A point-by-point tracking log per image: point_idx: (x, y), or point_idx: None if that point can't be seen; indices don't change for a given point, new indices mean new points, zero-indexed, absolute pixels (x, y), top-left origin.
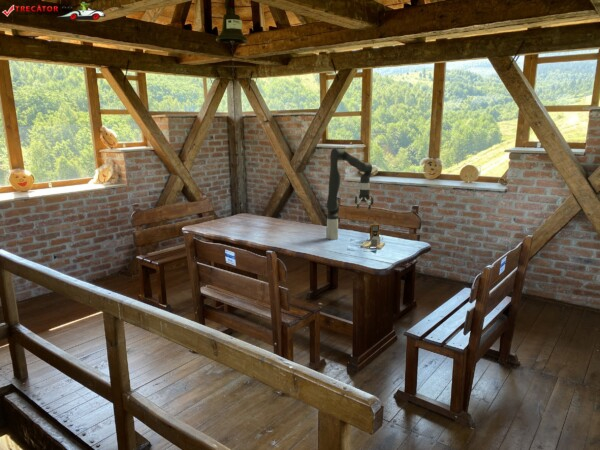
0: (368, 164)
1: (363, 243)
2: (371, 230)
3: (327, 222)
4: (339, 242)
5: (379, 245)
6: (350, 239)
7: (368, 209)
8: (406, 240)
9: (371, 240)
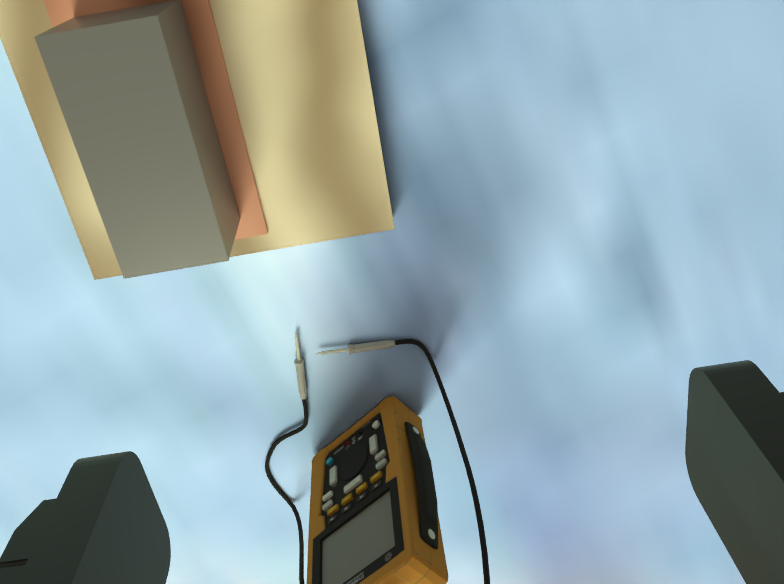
0: None
1: (359, 78)
2: (400, 486)
3: None
4: (771, 48)
5: None
6: (659, 291)
7: (120, 458)
8: None
9: (152, 12)
